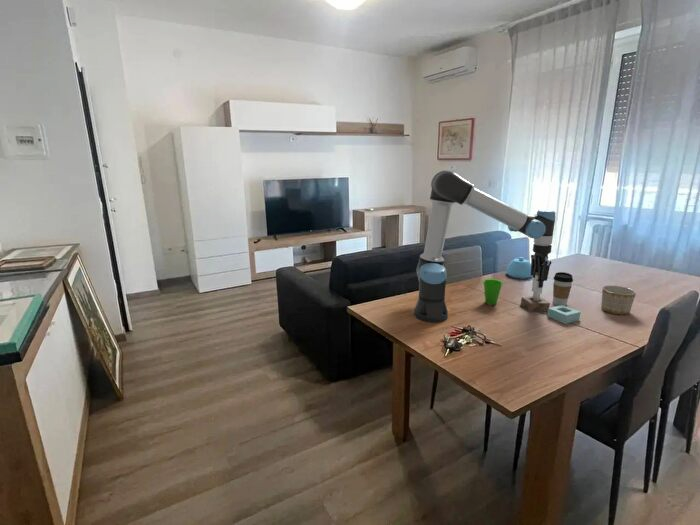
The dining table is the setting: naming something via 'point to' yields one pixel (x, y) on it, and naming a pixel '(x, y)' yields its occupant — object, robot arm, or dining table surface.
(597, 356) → the dining table surface
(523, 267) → the sugar bowl
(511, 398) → the dining table surface
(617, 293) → the planter
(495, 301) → the cup
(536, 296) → the pale grey rod
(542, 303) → the brown square wooden ring
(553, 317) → the teal square ring
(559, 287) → the coffee cup
